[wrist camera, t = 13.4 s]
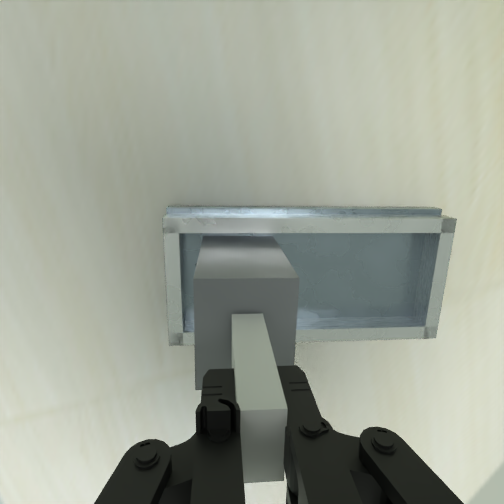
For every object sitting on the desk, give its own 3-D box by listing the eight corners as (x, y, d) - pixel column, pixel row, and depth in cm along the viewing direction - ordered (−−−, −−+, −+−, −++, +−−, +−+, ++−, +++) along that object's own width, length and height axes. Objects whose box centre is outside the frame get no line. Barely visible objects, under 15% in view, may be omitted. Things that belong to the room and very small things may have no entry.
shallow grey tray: (168, 205, 25) (162, 211, 22) (434, 207, 27) (457, 213, 24) (174, 331, 28) (169, 350, 25) (415, 325, 29) (434, 342, 27)
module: (203, 235, 25) (193, 278, 16) (273, 235, 25) (299, 278, 17) (204, 314, 26) (195, 391, 18) (269, 313, 27) (292, 388, 18)
